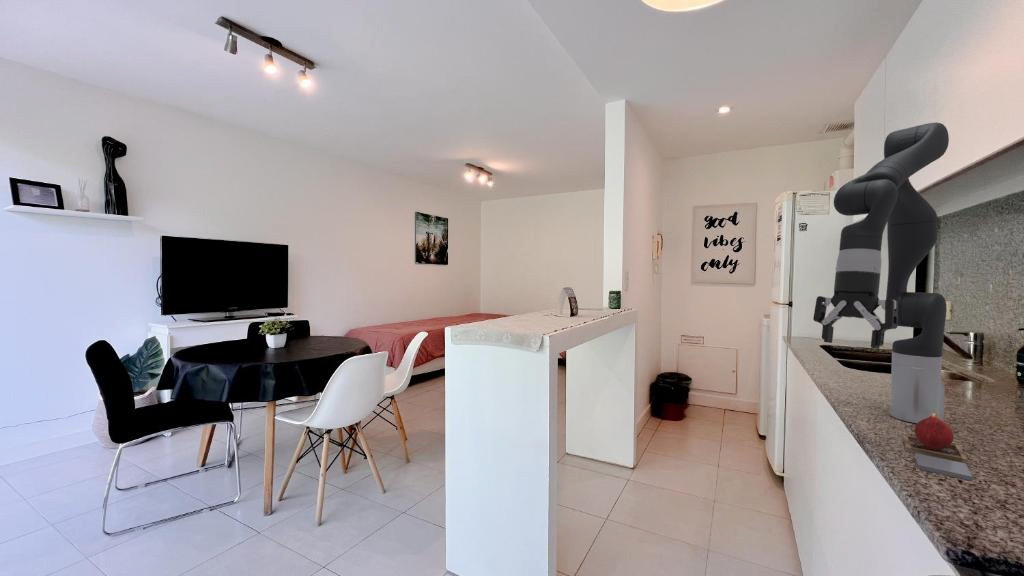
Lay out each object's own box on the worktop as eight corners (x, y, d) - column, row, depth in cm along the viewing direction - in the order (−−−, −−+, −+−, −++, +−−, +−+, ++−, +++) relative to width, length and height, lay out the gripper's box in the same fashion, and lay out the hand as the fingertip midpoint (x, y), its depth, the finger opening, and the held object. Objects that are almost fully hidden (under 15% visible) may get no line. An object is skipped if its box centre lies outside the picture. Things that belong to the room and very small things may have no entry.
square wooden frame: (902, 439, 93) (902, 434, 93) (959, 449, 88) (959, 445, 87) (906, 451, 87) (906, 446, 87) (967, 464, 81) (967, 459, 81)
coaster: (914, 456, 84) (915, 453, 84) (965, 467, 79) (965, 463, 79) (918, 469, 79) (918, 464, 79) (972, 481, 74) (972, 476, 74)
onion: (957, 459, 83) (959, 420, 83) (918, 452, 86) (920, 415, 86) (946, 449, 88) (948, 412, 88) (910, 443, 91) (911, 407, 91)
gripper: (907, 274, 85) (900, 351, 84) (828, 274, 97) (822, 341, 97) (892, 268, 81) (884, 349, 80) (812, 269, 94) (805, 339, 93)
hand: (850, 345), depth 89 cm, fingers open, 8 cm apart
